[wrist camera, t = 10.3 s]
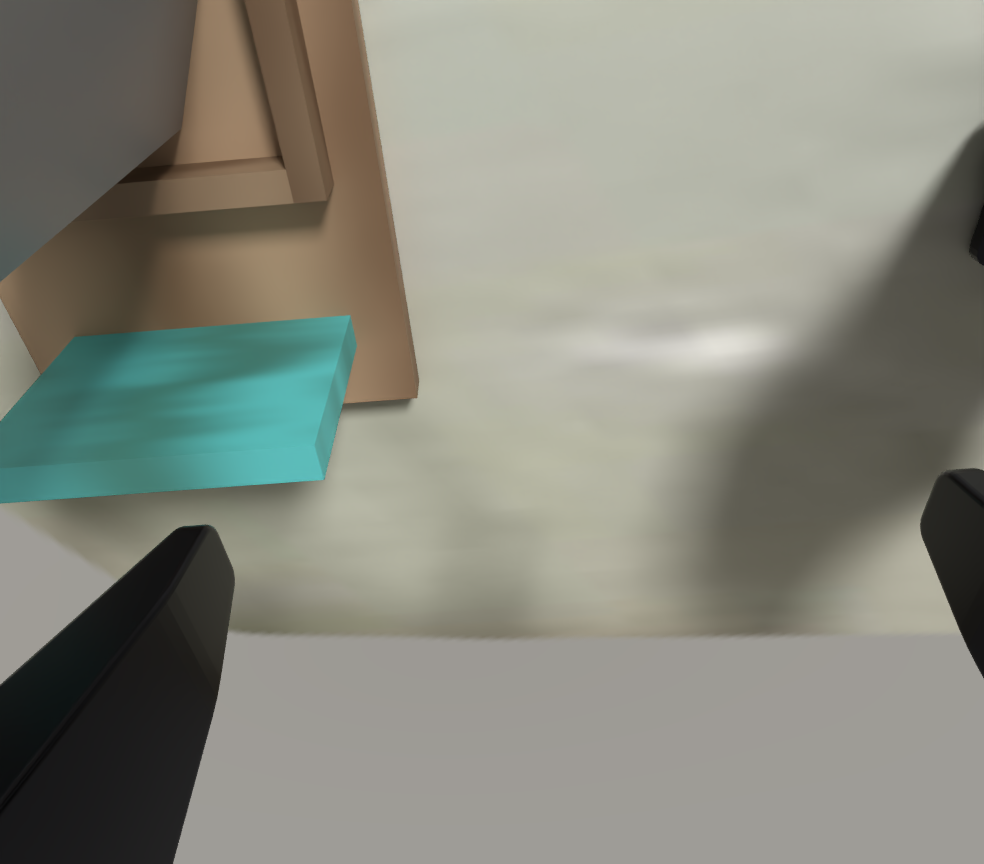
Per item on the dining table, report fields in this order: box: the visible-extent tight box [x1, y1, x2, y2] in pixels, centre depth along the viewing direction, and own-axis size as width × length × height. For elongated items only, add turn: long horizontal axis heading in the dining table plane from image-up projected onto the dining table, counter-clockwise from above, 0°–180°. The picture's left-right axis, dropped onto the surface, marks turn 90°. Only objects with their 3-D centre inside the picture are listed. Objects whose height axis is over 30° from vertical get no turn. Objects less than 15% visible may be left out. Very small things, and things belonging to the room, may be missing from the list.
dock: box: [0, 0, 419, 503], centre depth 15 cm, size 11×18×7 cm, turn 4°
